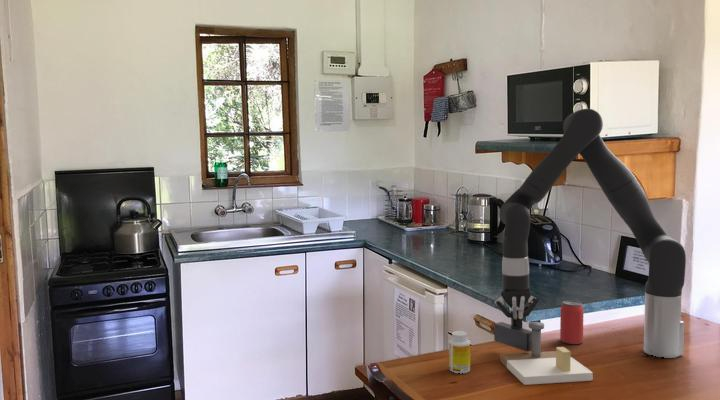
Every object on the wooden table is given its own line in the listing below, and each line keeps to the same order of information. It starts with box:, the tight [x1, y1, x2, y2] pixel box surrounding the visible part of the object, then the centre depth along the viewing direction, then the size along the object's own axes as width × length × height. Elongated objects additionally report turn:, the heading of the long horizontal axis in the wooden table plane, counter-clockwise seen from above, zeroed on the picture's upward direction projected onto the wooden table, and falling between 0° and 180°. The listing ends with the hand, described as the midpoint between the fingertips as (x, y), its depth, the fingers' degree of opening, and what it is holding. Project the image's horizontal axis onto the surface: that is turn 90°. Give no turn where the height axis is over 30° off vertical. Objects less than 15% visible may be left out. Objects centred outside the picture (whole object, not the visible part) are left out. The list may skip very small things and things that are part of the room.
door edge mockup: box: [499, 321, 594, 386], centre depth 162 cm, size 18×17×11 cm
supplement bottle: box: [448, 330, 471, 375], centre depth 162 cm, size 6×6×10 cm
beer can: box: [559, 299, 585, 345], centre depth 185 cm, size 7×7×12 cm
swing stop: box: [493, 321, 532, 353], centre depth 174 cm, size 12×3×5 cm, turn 34°
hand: (516, 330), depth 177 cm, fingers closed
